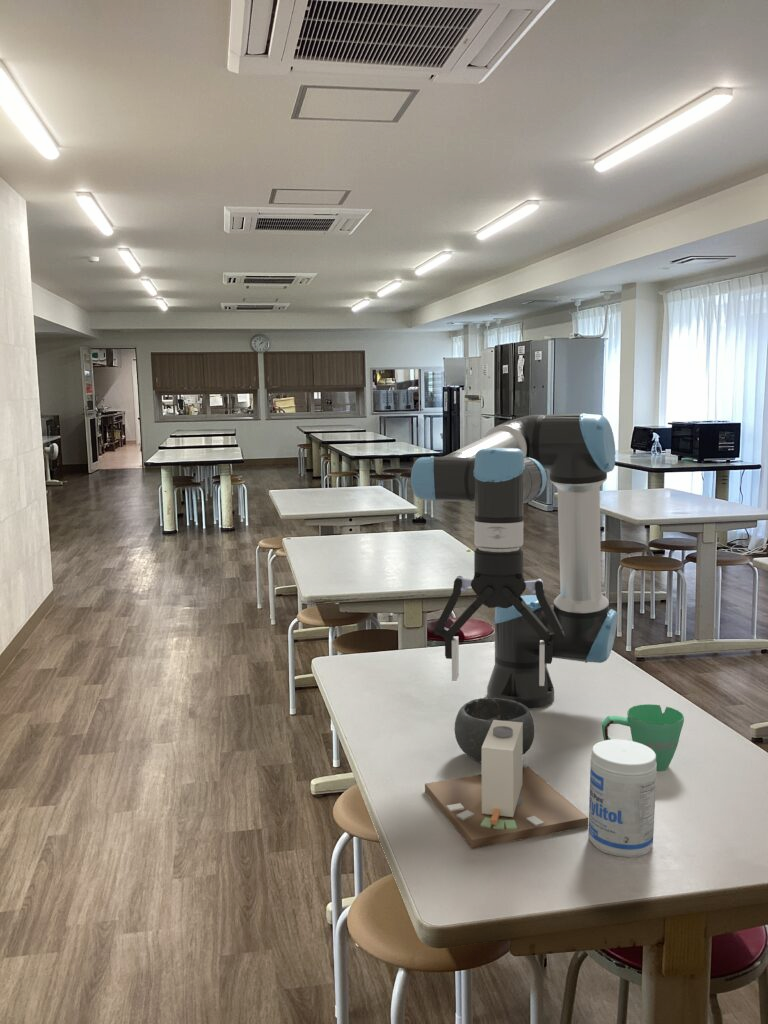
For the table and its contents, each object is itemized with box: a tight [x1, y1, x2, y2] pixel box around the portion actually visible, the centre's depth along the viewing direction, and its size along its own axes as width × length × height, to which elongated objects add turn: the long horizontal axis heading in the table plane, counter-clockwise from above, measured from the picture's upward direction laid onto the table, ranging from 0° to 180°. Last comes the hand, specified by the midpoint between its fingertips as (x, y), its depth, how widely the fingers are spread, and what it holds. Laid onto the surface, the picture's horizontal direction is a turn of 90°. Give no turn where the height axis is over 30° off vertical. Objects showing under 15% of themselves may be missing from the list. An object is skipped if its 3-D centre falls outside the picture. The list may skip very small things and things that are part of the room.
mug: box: [601, 703, 685, 773], centre depth 152 cm, size 15×10×10 cm
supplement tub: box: [587, 738, 657, 858], centre depth 125 cm, size 10×10×15 cm
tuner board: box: [424, 766, 589, 850], centre depth 138 cm, size 20×20×2 cm
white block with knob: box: [481, 720, 524, 825], centre depth 135 cm, size 16×5×12 cm, turn 164°
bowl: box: [454, 697, 536, 763], centre depth 156 cm, size 15×15×10 cm
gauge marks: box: [447, 803, 544, 830], centre depth 132 cm, size 12×10×1 cm
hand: (498, 681), depth 131 cm, fingers open, 13 cm apart
